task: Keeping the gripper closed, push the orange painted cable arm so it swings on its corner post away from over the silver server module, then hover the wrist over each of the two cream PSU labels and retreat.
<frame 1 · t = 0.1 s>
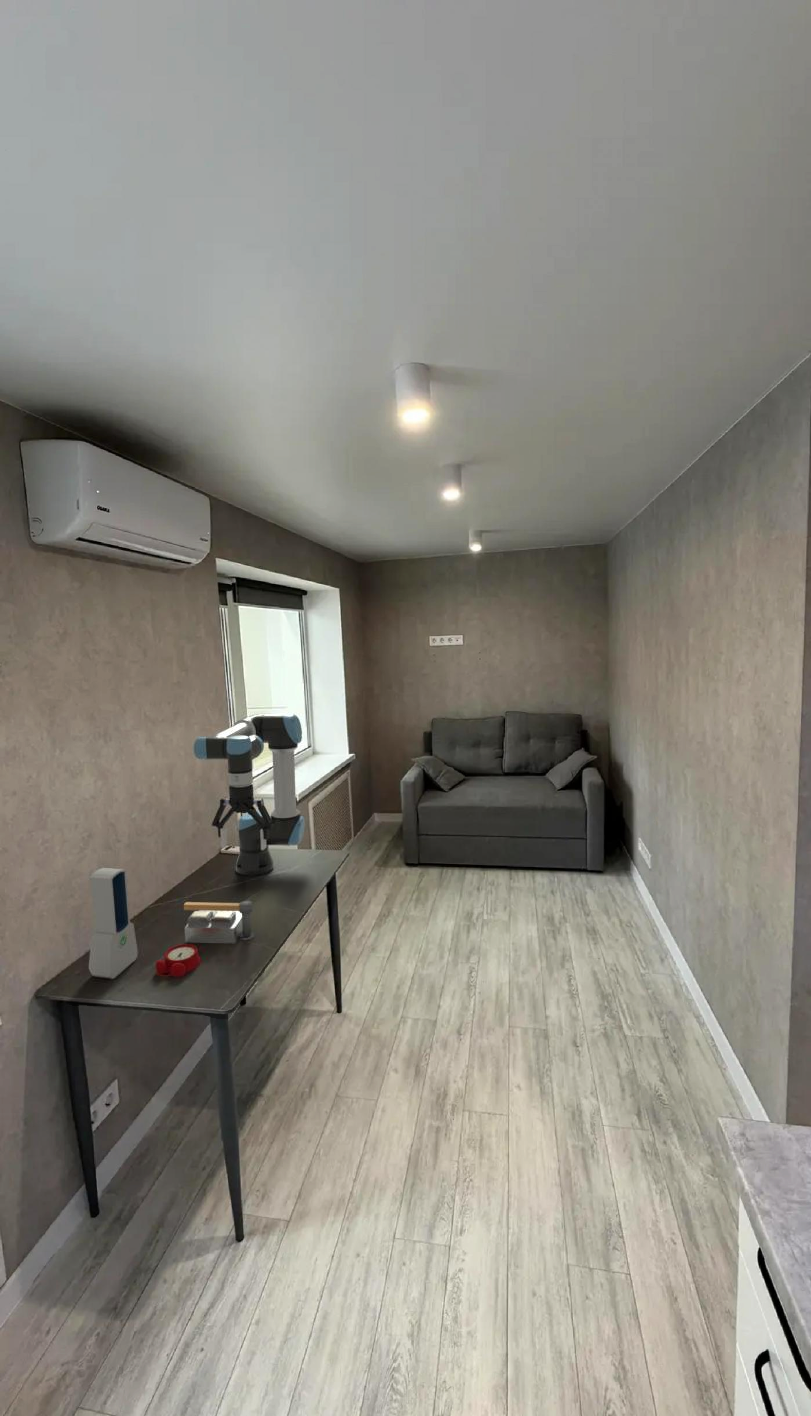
hand: (243, 847, 197), 28 cm above the table, fingers open, 13 cm apart
electronic device: (114, 968, 178), on the table
server: (217, 933, 198), on the table
cable arm: (218, 919, 195), point 6 cm above the table, hinge at 0.0°
alarm clock: (178, 969, 178), on the table
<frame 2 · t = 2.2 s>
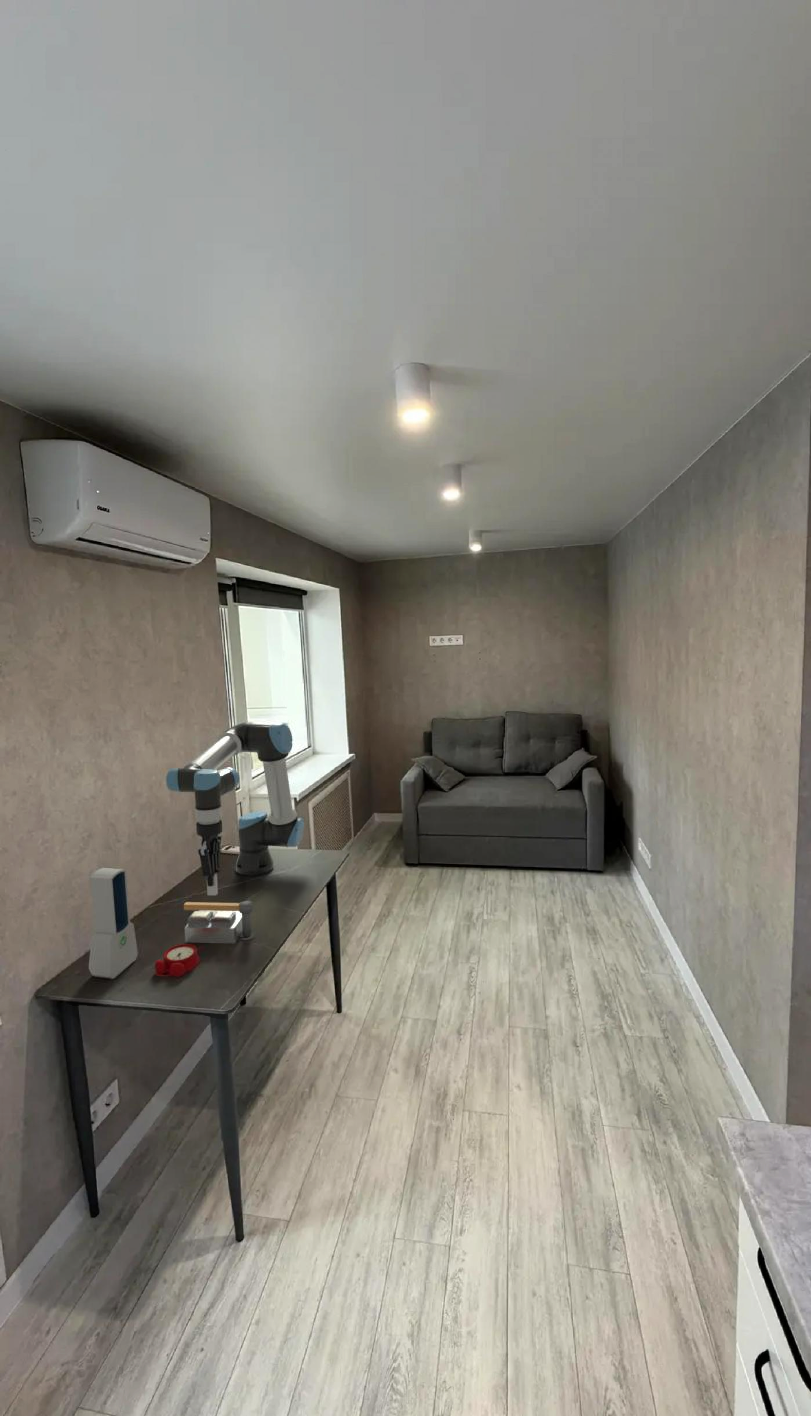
hand: (212, 894, 187), 17 cm above the table, fingers closed
nothing on the table moved.
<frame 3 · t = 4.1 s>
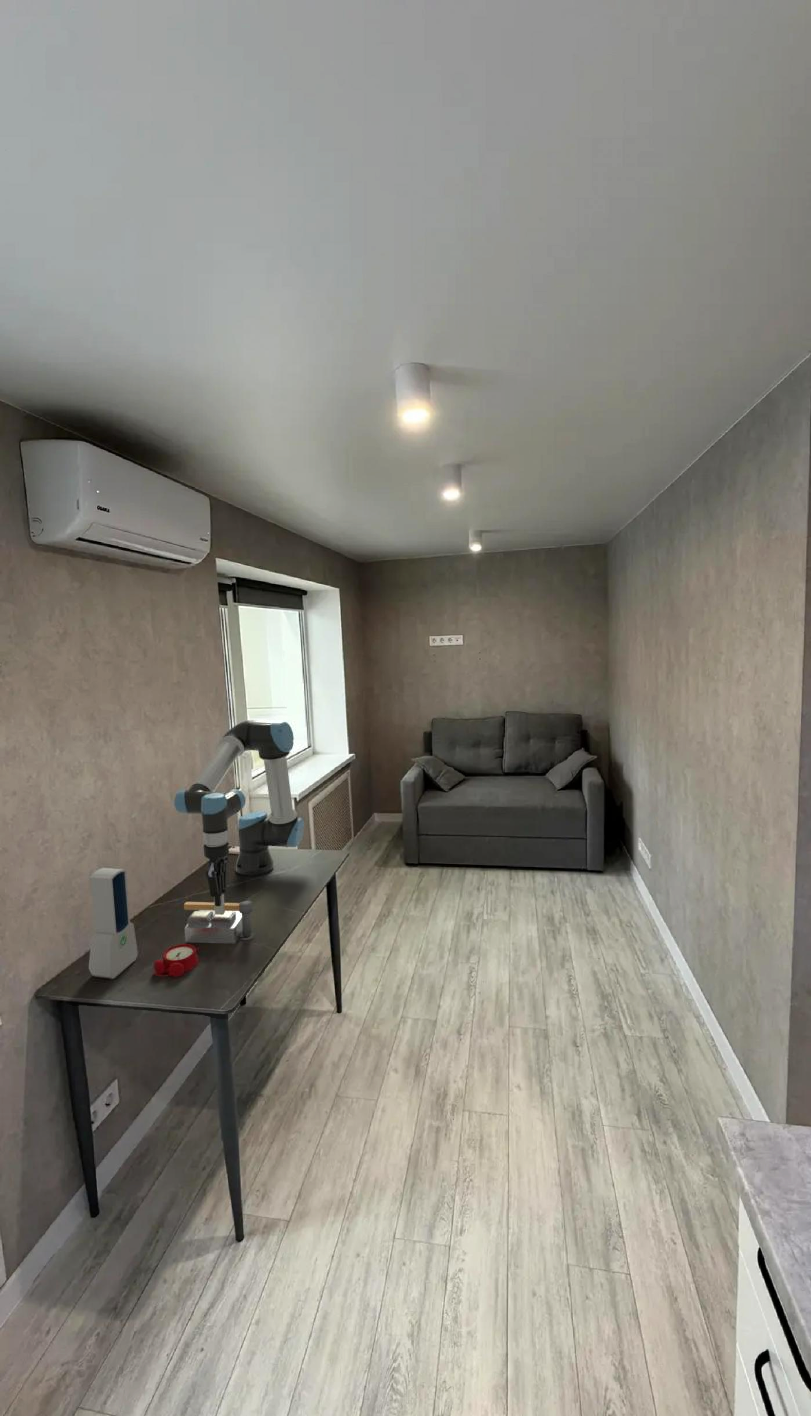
hand: (219, 913, 193), 8 cm above the table, fingers closed
cable arm: (219, 918, 195), point 6 cm above the table, hinge at -0.6°, touching gripper
everything else where it was.
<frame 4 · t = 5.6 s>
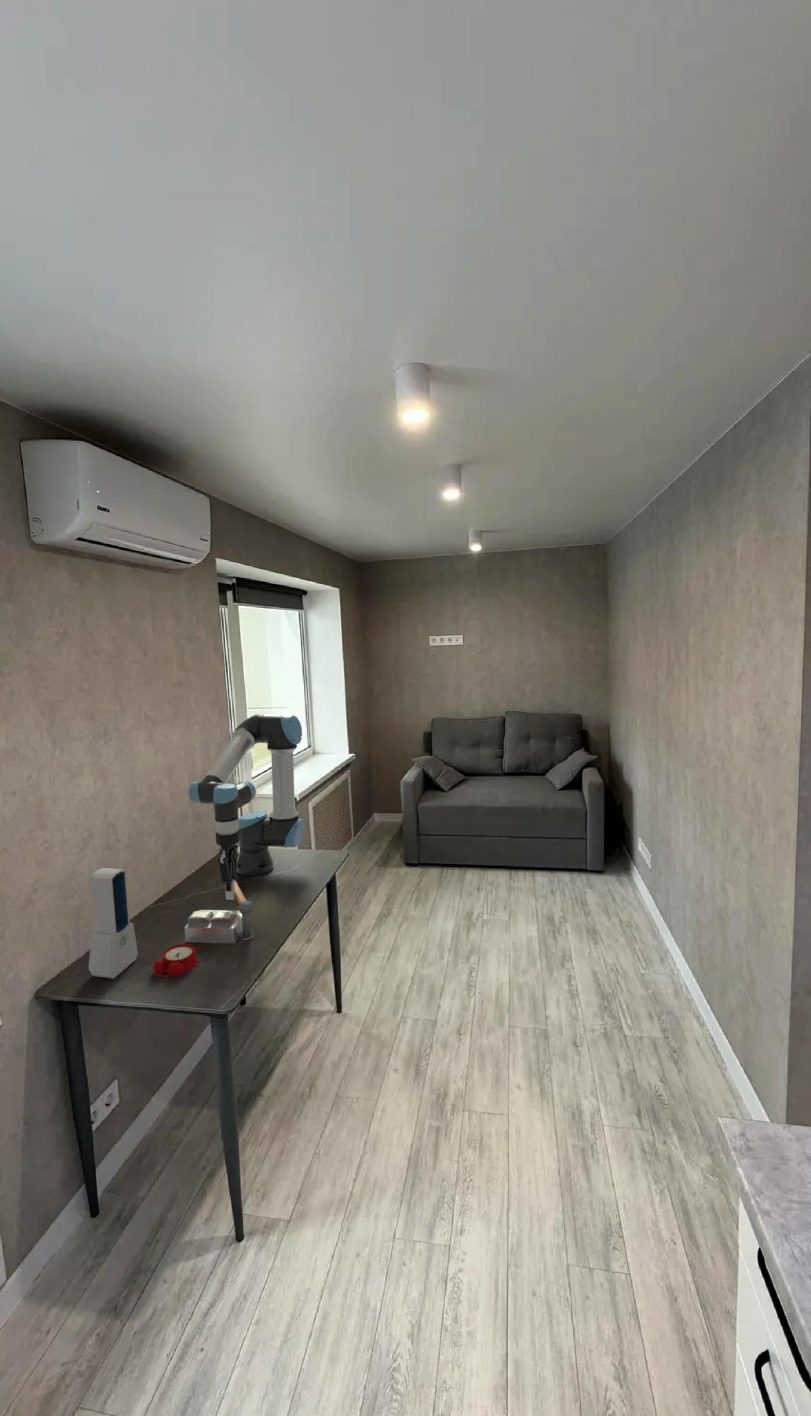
hand: (230, 898, 203), 9 cm above the table, fingers closed
cable arm: (240, 908, 203), point 6 cm above the table, hinge at -59.3°
everything else where it was.
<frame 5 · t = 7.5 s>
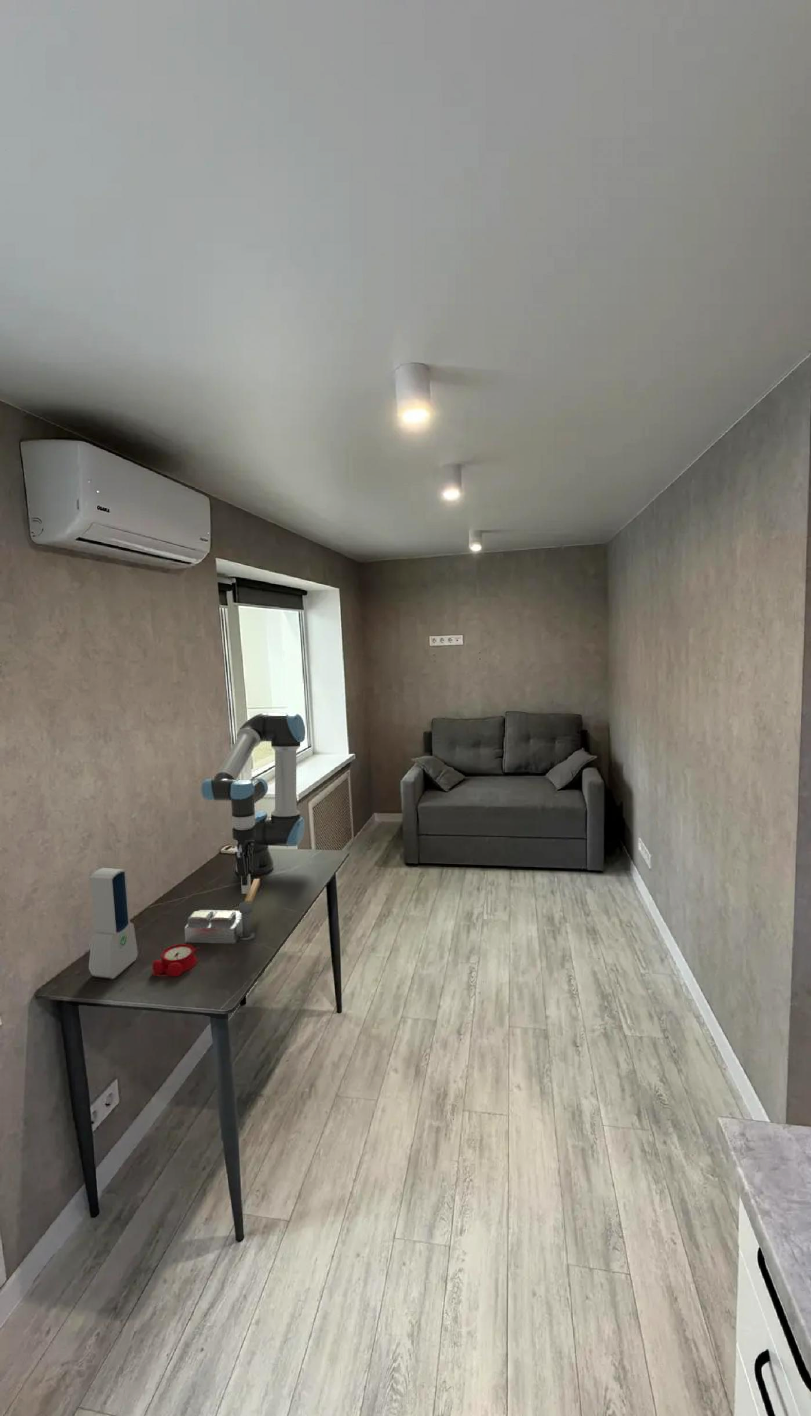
hand: (246, 892, 207), 9 cm above the table, fingers closed
cable arm: (251, 906, 204), point 6 cm above the table, hinge at -83.1°, touching gripper
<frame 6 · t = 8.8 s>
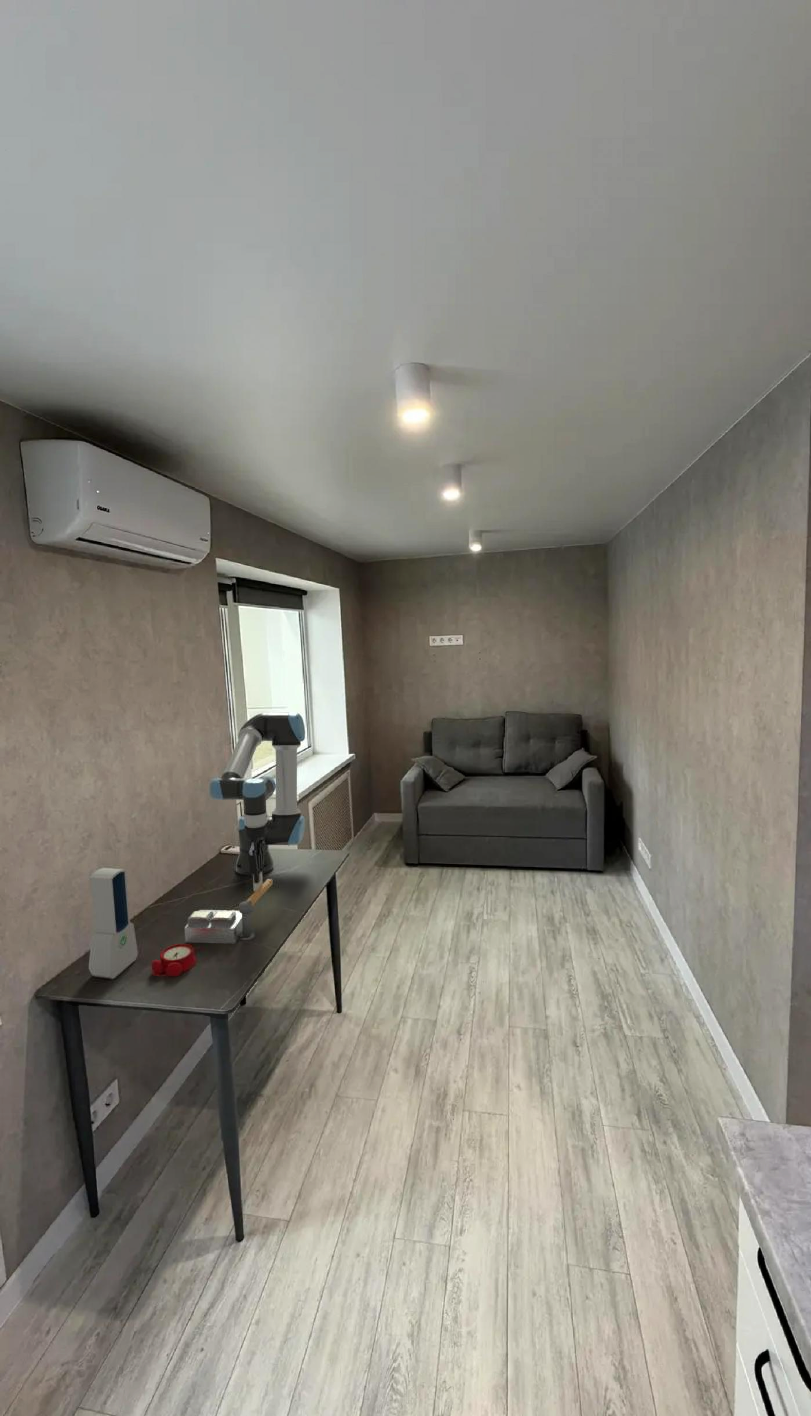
hand: (258, 890, 210), 9 cm above the table, fingers closed
cable arm: (257, 906, 203), point 6 cm above the table, hinge at -96.6°, touching gripper
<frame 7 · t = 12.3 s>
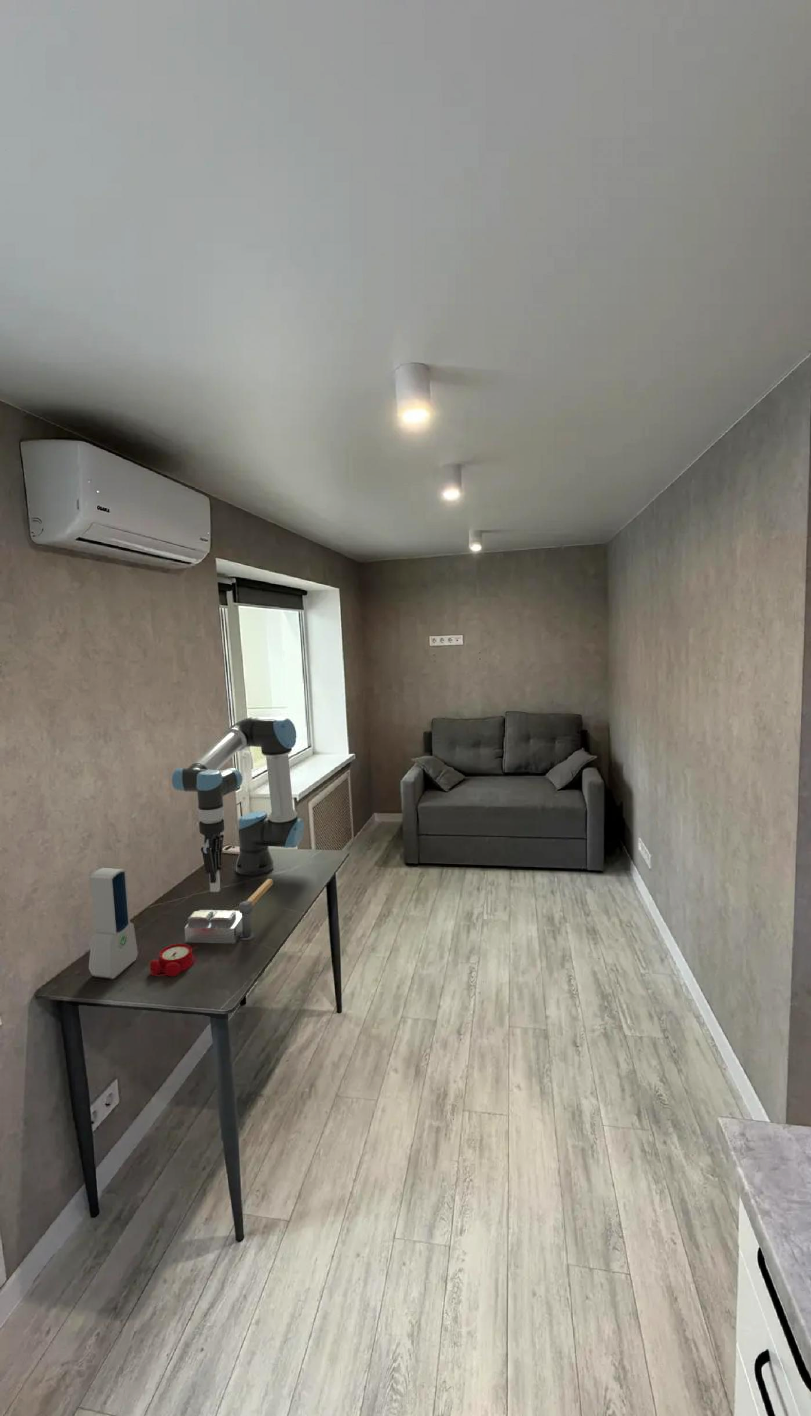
hand: (215, 890, 194), 15 cm above the table, fingers closed
cable arm: (257, 906, 203), point 6 cm above the table, hinge at -96.8°
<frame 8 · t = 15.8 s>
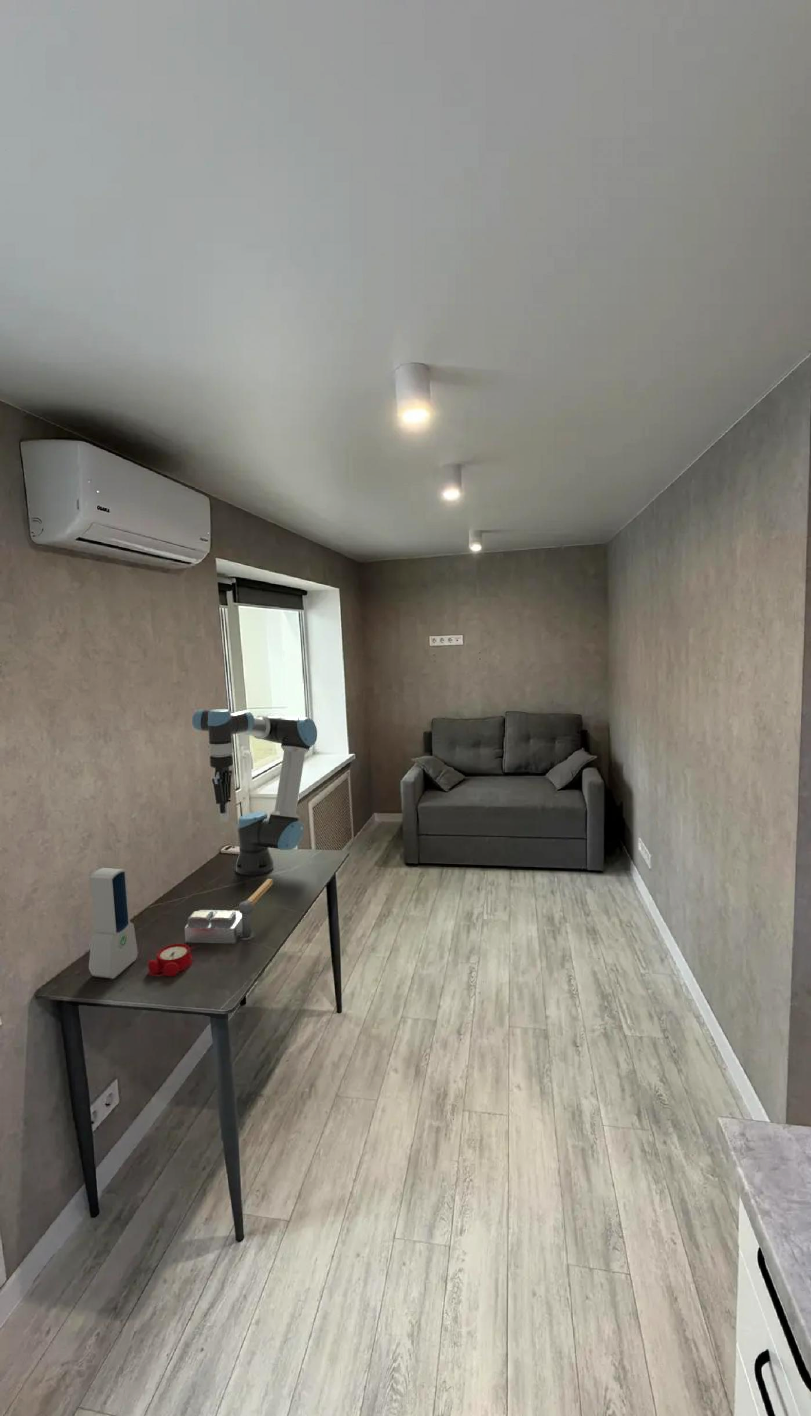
hand: (224, 821, 210), 32 cm above the table, fingers closed
at the end: cable arm at -97° (first picture: +0°) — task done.
